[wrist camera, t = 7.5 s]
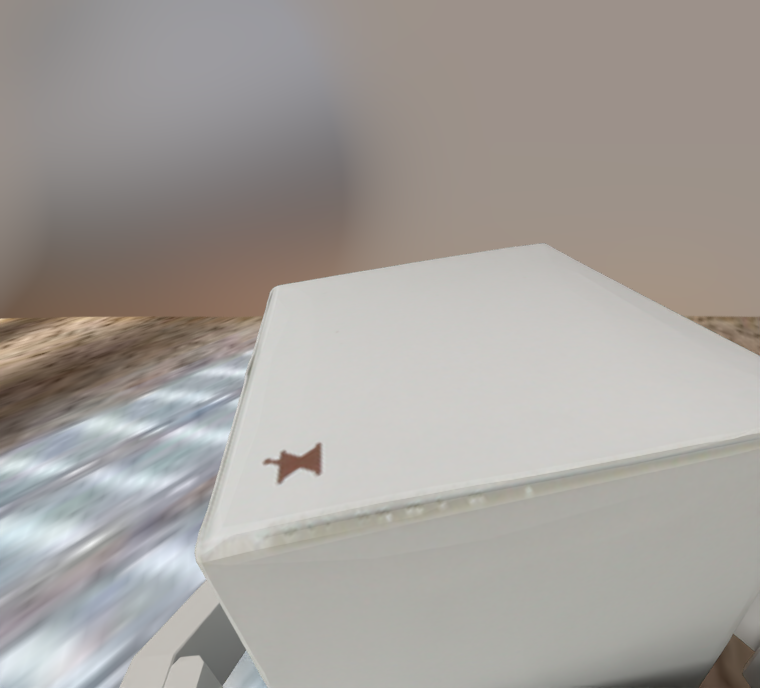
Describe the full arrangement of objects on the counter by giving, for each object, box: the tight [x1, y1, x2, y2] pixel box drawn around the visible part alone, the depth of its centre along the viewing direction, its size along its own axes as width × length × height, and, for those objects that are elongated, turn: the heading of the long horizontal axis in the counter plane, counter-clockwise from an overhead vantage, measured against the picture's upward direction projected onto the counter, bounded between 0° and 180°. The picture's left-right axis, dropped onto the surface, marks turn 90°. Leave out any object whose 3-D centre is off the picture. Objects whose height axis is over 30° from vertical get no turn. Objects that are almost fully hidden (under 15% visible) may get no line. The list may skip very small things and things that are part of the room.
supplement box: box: [195, 243, 760, 688], centre depth 10 cm, size 7×7×13 cm
